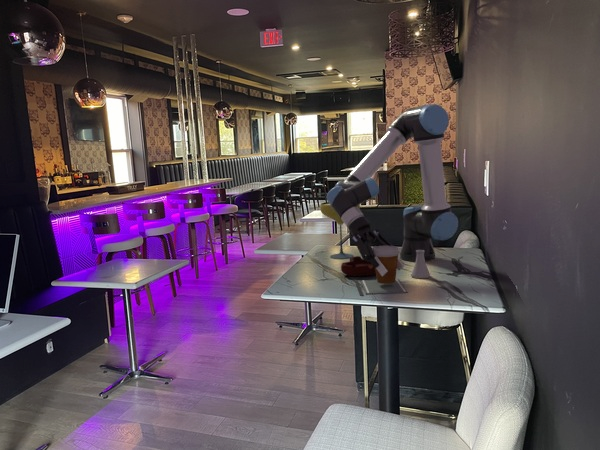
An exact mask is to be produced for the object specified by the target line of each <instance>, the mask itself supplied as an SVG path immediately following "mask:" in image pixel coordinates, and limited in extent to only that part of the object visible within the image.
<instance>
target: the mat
mask: <svg viewBox="0 0 600 450" xmlns="http://www.w3.org/2000/svg"><path fill="white" fill-rule="evenodd" d="M360 283H361V286H362V288H363V291H364V293H365V295H386V294H408V293H409V291H408V290H407V289H406V288H405V286H404V284H403V283H402V282H401V280H400V279H399V278H396V279H395V282H394V283H391V284H382V283H378V282H377V279H369V280H365V279H363V280H360Z"/></svg>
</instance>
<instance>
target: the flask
mask: <svg viewBox="0 0 600 450" xmlns="http://www.w3.org/2000/svg"><path fill="white" fill-rule="evenodd" d="M416 252H417V257H416V261H414V262H415V263H414V265H413V268H412V272H411V274H410V277H411V278H413V279H414V278H415V279H428V278H430V277H431V273H430V271H429V268H428V265H427V263H426V261H425V259H424V252H425V251H424V250H416Z"/></svg>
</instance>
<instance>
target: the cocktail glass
mask: <svg viewBox="0 0 600 450" xmlns="http://www.w3.org/2000/svg"><path fill="white" fill-rule="evenodd" d="M357 207H358V208H359V210H360V211H361V204H359V205H358V206H357ZM319 208H320V212H321V213H322V215H324V216H325V217H328V218H329V219H332V220H334V222H336V223H337V224H338V226H339V232H340V233H339V236H340V238H339V239H340V241H339V243H340V248H339V249H340V250H339V252H338V253H334V254H331V255H329V258H330V259H334V260H347V259H350V258H352V257H354V255H353V254H352V253H344V251H343V249H344V248H343V237H342V235H343V233H342V232H343V231H342V226H343V225H344V222H343V221H342V219H341V218H340V217H339V216H338V214H337V213H336V212H335V210H334V209H333V208H332V207H331V205H330V204H329V202H328V201H326V202H321V203H320V206H319Z"/></svg>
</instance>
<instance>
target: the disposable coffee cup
mask: <svg viewBox="0 0 600 450" xmlns="http://www.w3.org/2000/svg"><path fill="white" fill-rule="evenodd" d="M372 251H373V254H374V258H375V257H376V256H377V258H378V259H379V260H380V262H381V263H382V264H383V265H384V267H385V268H386V269H387V271H388V272H387V273H386V274H385V275H384V276H381V274H380V273H379V272H378V270H377V269H376V268H375V270H376V275H375V277H376V280H377V282H378V283H382V284H391V283H394V282H395V279H397V278H396V277H397V270H398V269H397V261H398V258H399V255H400V252H401V250H399V248H398V246H395V245H393V246H374V247H372Z"/></svg>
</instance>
